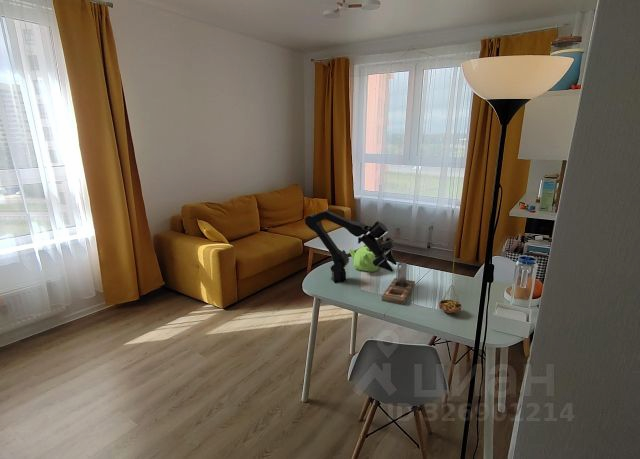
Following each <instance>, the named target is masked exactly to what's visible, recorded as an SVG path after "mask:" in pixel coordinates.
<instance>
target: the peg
mask: <svg viewBox="0 0 640 459" xmlns="http://www.w3.org/2000/svg"><path fill="white" fill-rule="evenodd" d="M407 267H408V263H406V262H399V263H397V279H398V284H397V286H399V287H405V288H407V287H406V280H407V269H408V268H407Z"/></svg>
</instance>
